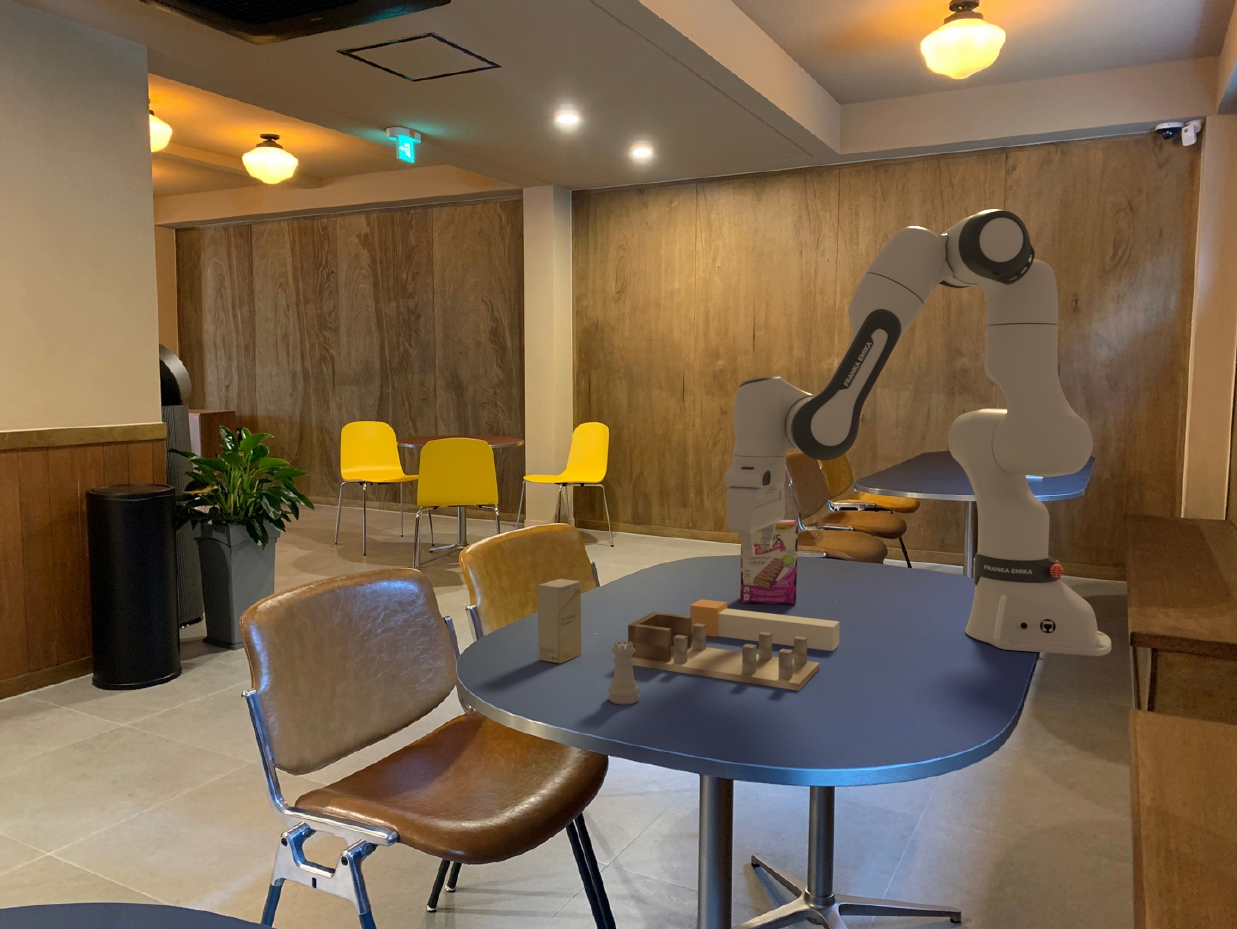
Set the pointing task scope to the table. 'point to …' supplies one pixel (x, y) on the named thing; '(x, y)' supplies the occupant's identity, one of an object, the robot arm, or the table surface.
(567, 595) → the skincare box
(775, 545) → the candy bar box
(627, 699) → the rook chess piece
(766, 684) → the rail
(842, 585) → the table surface
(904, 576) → the table surface
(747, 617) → the orange tipped beige bar
